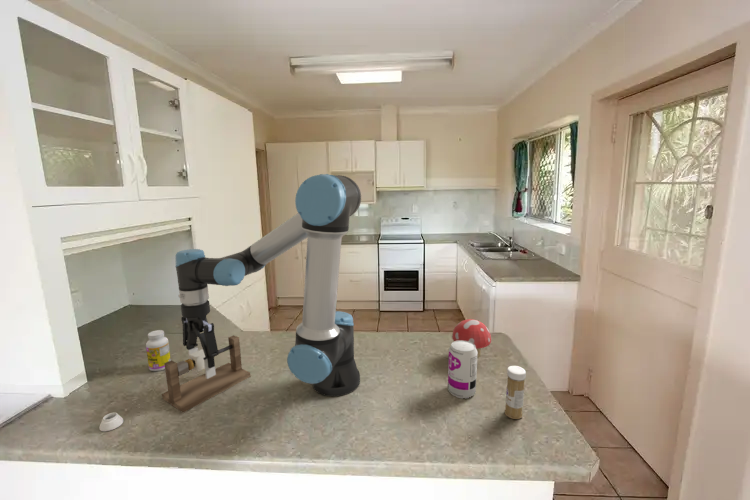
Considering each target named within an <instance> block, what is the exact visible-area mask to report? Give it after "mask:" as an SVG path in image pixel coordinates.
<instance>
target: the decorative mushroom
mask: <svg viewBox="0 0 750 500" xmlns="http://www.w3.org/2000/svg"><path fill="white" fill-rule="evenodd" d="M451 339H452V340H453V342H454V341H459V340H463V341H468V342H471V343H473V344H474V345H475V347H476V349H477V352H478V354H477V360H478V359H479V358H480V357H481V356H482V355H481V353H482V351H481V349H484V348H487V347H488V346H489V345H491V343H492V336H491V332H490V330H489V328H488V327H487V326H486V325H485V323H483V322H482V321H480V320H479V319H478V320H477V319H473V318H470V319H469V318H467V319H464V320H461V321H460V322H458V323H457V324H456V325H455V326H454V329H453V331H452V335H451ZM489 347H490V346H489Z"/></svg>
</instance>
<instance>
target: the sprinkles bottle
mask: <svg viewBox="0 0 750 500" xmlns="http://www.w3.org/2000/svg"><path fill="white" fill-rule="evenodd" d="M506 371H507V372H506V374H507V375H506V377H507V382H506V383H507V384H506V393H505V409H504V414H505V416H506V417H508V418H510V419H512V420H519V419H521V418H522V417H523V406H524V397H525V380H526V374H527V372H526V370H525V368H523V367H521V366H519V365H510V366H508V367H507V369H506Z"/></svg>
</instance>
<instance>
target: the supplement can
mask: <svg viewBox="0 0 750 500" xmlns="http://www.w3.org/2000/svg"><path fill="white" fill-rule="evenodd" d="M477 354H478V352H477V349H476V347H475V345H474V344H473V343H471V342H468V341H463V340H459V341H454V340H453V341H452V342H451V344H450V346H449V348H448V367H447V369H448V371H447V390H448V392H449V393H450V394H451V395H452V396H453V397H455V396H456V398H459V399H463V398H465V399H469V397H470V398H472V397H474V395H476V392H477V391H476V390H477V374H478V373H477V372H478V369H477V368H478V359H477ZM471 396H472V397H471Z"/></svg>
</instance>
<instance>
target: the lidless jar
mask: <svg viewBox="0 0 750 500" xmlns="http://www.w3.org/2000/svg"><path fill="white" fill-rule="evenodd" d="M123 423H124V418H123V417H122V416H121V415H120V414H118V412H110V413H107V414H105V415H104V416H103V417H102V420H101V422H100V425H99V427H98V429H99V431H101V432H109V431H112V430H114V429H117V428H119V427H120V426H122V424H123Z"/></svg>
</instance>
